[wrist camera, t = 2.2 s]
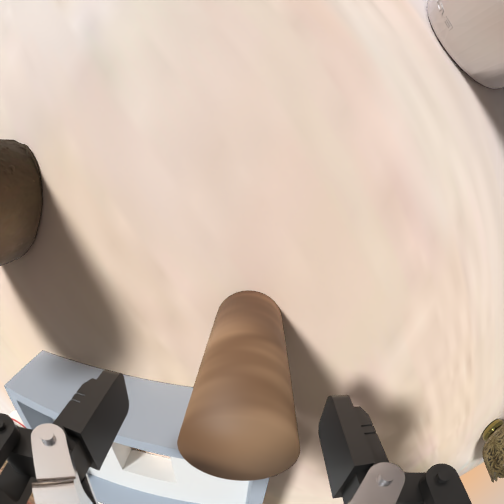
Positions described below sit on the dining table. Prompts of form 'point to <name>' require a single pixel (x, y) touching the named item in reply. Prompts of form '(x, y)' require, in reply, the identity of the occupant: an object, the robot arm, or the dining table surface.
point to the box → (130, 437)
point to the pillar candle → (18, 200)
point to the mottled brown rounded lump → (494, 449)
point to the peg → (242, 395)
